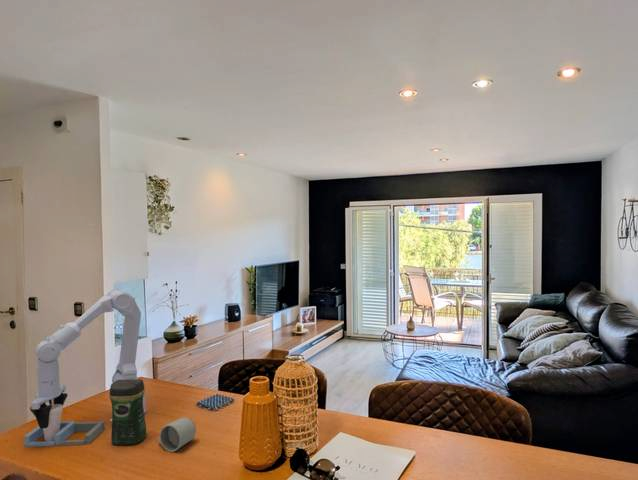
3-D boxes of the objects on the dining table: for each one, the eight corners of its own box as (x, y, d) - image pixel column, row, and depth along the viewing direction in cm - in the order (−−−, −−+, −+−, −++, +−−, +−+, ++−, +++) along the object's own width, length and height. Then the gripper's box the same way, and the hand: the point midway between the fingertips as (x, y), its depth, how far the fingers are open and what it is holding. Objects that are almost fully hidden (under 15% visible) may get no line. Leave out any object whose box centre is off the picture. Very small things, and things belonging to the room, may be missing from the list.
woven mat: (194, 407, 155) (194, 402, 155) (216, 397, 164) (216, 392, 164) (214, 414, 149) (213, 408, 149) (235, 403, 158) (235, 398, 158)
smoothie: (52, 444, 129) (51, 397, 129) (34, 442, 130) (33, 397, 130) (68, 434, 135) (67, 390, 135) (51, 433, 136) (50, 389, 137)
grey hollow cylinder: (198, 440, 129) (197, 415, 129) (180, 454, 122) (179, 427, 121) (170, 436, 133) (169, 411, 133) (151, 448, 125) (150, 422, 125)
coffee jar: (150, 433, 134) (148, 375, 134) (138, 446, 127) (136, 384, 126) (120, 433, 135) (118, 375, 135) (106, 446, 127) (104, 384, 127)
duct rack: (104, 428, 139) (104, 419, 138) (88, 444, 128) (88, 434, 128) (44, 431, 138) (43, 422, 138) (23, 447, 128) (23, 437, 128)
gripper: (49, 372, 140) (51, 413, 140) (20, 388, 125) (21, 434, 126) (71, 371, 140) (73, 412, 140) (44, 387, 125) (46, 433, 126)
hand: (50, 422), depth 133 cm, fingers closed on smoothie, 6 cm apart
